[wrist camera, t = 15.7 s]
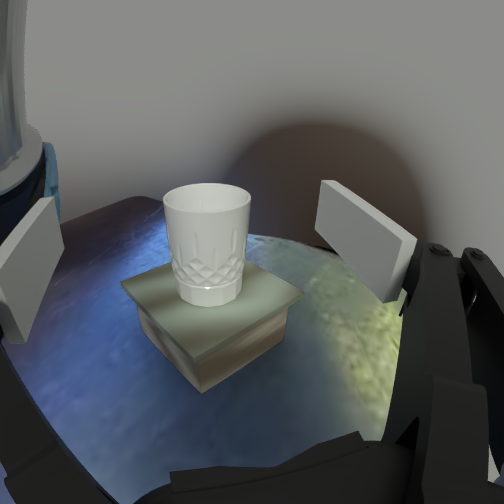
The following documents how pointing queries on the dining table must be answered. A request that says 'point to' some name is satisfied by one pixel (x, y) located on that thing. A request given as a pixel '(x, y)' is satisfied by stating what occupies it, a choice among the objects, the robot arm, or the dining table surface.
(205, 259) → the white cup
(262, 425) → the dining table surface
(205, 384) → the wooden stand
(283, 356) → the dining table surface
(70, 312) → the dining table surface
